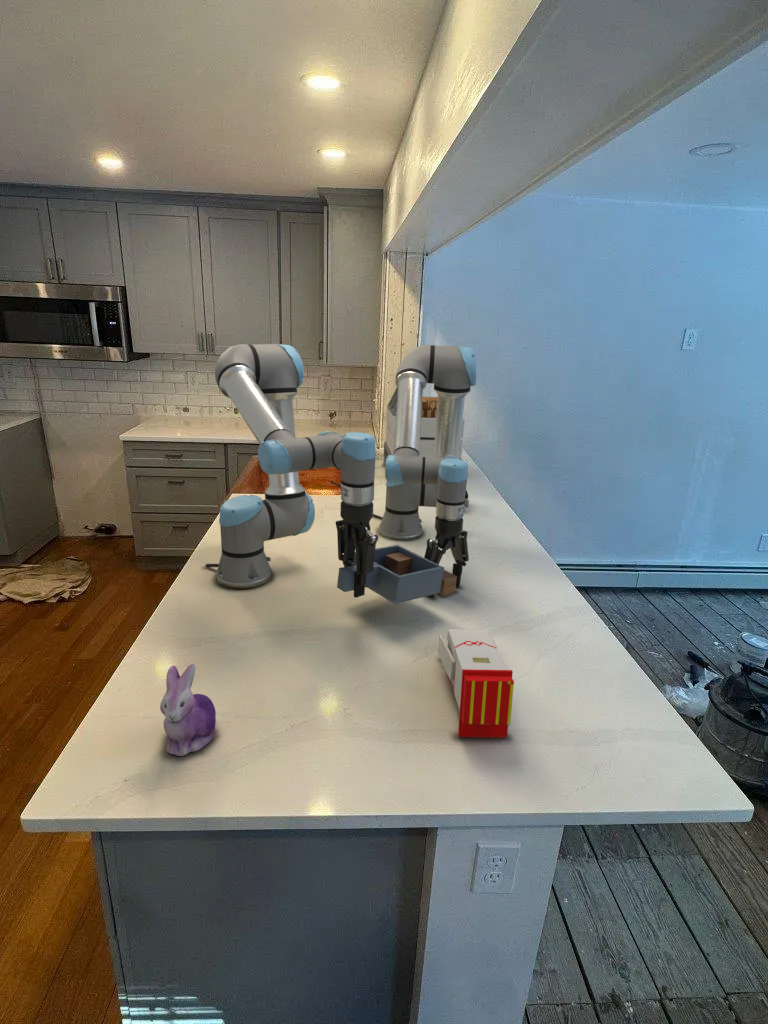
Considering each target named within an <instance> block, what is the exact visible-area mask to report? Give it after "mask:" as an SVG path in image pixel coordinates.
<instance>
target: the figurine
mask: <svg viewBox="0 0 768 1024" xmlns="http://www.w3.org/2000/svg"><path fill="white" fill-rule="evenodd" d="M195 675H196V665H195V664H194V663H191V664H189V665H188V666H187V668H185V670H184V672H183V673H181V675H180V673H179V670H178V668H177V666H176V665H171V666H170V667H169V668H168V669H167V672H166V680H165V681H166V683H165V684H166V691H165V693H164V695H163V697H162V699H161V701H160V704H159V705H160V706H159V708H160V712H161V714H162V715H163V716H164V717H165V718H164V720H163V729H164V732H165V735H166V737H167V745H166V752H167V753H168V754H170V755H174V756H179V757H181V756H187V754H190V753H191V752H197V751H199V750H202V748H204V747H206V745H208V744H209V743H210V742H211V741H212V740H213V739H214V737H215V735H216V723H217V718H216V717H217V716H216V715H217V713H216V708H215V707H216V706H215V705H214V703H213V701H212V699H211V698H210V697H209V696H208V695H205V694H202V693H193V692H192V685H193V681H194V678H195Z"/></svg>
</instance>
